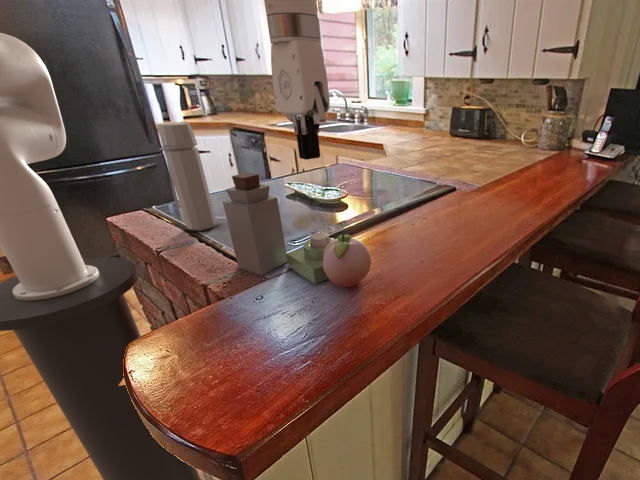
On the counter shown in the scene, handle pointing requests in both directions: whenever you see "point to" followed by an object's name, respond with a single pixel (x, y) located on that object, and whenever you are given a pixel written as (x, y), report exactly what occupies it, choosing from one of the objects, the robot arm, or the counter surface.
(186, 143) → the water bottle
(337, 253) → the decorative fruit
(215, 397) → the counter surface
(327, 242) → the beige button cap
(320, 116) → the robot arm
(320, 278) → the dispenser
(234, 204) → the perfume bottle
